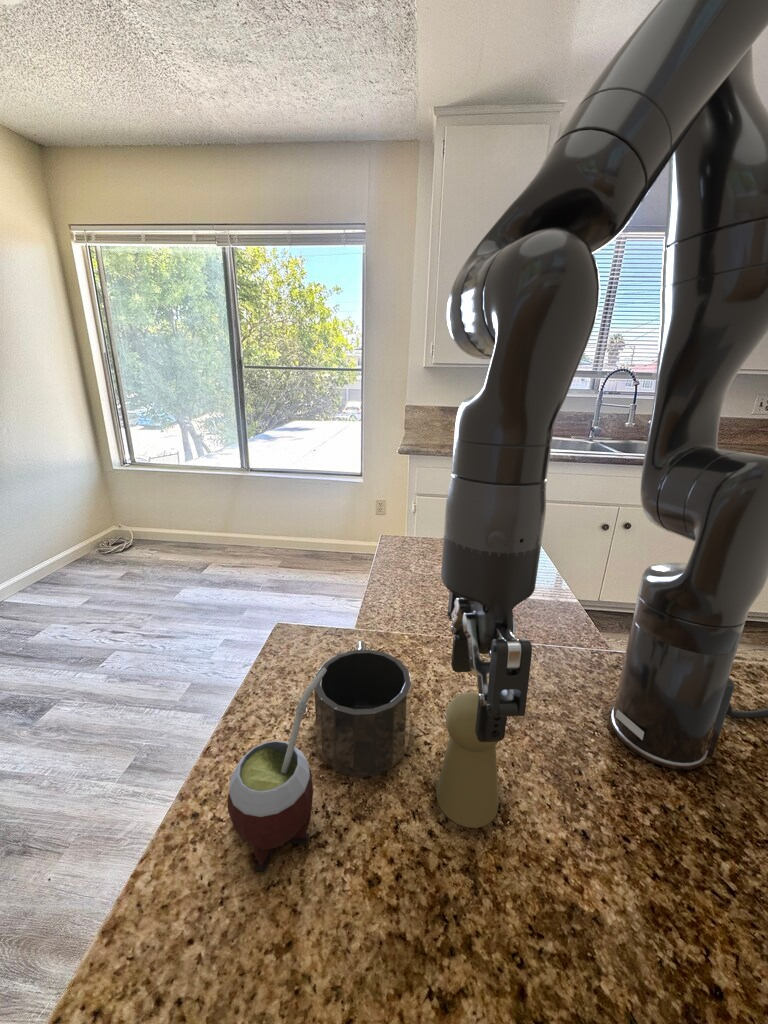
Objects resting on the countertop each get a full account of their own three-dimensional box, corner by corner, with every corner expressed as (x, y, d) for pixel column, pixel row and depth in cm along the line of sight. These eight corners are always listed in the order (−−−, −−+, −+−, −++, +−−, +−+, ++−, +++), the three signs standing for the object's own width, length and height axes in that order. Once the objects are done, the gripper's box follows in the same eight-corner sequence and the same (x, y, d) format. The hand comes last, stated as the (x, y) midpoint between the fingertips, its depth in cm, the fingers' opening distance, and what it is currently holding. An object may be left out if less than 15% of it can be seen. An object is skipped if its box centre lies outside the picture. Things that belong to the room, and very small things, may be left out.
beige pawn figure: (500, 834, 38) (513, 736, 35) (433, 820, 39) (439, 724, 36) (497, 775, 43) (507, 687, 40) (438, 765, 45) (444, 678, 41)
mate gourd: (217, 869, 35) (196, 723, 30) (260, 784, 42) (248, 656, 38) (303, 887, 34) (294, 738, 29) (331, 796, 41) (327, 666, 37)
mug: (414, 774, 43) (417, 711, 41) (313, 780, 43) (310, 716, 40) (399, 682, 57) (401, 631, 54) (322, 685, 56) (320, 633, 54)
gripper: (585, 568, 27) (549, 767, 31) (506, 506, 40) (489, 651, 45) (469, 569, 26) (451, 771, 31) (429, 506, 40) (420, 653, 44)
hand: (474, 700), depth 38 cm, fingers open, 8 cm apart
